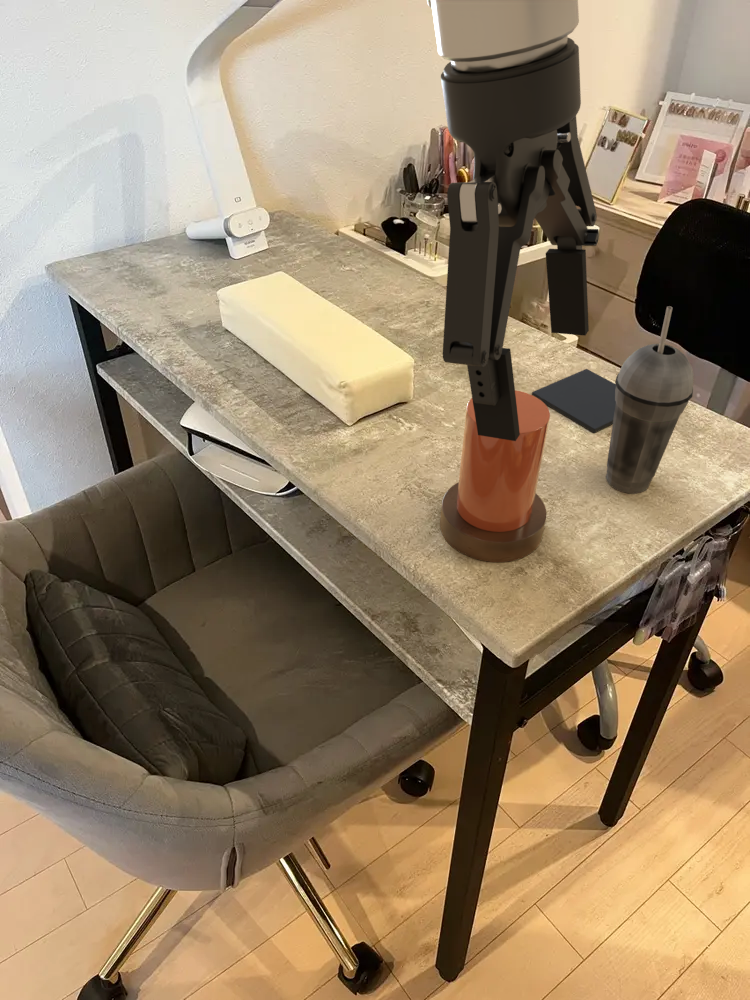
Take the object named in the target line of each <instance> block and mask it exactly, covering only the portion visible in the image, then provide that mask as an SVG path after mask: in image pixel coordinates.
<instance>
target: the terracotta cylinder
mask: <svg viewBox="0 0 750 1000" xmlns="http://www.w3.org/2000/svg"><path fill="white" fill-rule="evenodd" d="M515 395H516V404H517V413H518V422H519V431H520V435H519V437H518V438H517V440H516V441H511V440H505V439H499V438H493V437H487V436H480V435H478V432H477V425H476V419H475V412H474V406H473V400H472V397H471V398H470V399H469V400H468V402H467V404H466V409H465V418H464V419H465V420H464V429H463V436H462V437H463V438H462V446H461V447H462V448H461V456H460V465H459V466H460V467H459V475H458V482H459V484H458V493H457V503H456V504H457V510H458V512H459V514H460V516H461V517H462V518H463V519H464V520H465V521H466V522H468V523H469V524H471V525H472V526H474V527H477V528H479V529H482V530H486V531H492V532H506V531H512V530H515V529H518V528H520V527H522V526H523V525H525V524H526V523H527V522H528V521H529V519H530V517H531V514H532V510H533V504H534V499H535V494H537V489H538V488H537V487H538V482H539V478H540V472H541V466H542V462H543V456H544V450H545V446H546V440H547V434H548V430H549V424H550V419H551V412H550V409H549V406H547V405H546V404H544V403H543V402H542V401H541V400H540V399H538V398H537V397H535V396H533V395H532V394H530V393H528V392H524V391H521V390H517V389H515Z"/></svg>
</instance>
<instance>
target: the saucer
mask: <svg viewBox="0 0 750 1000" xmlns="http://www.w3.org/2000/svg"><path fill="white" fill-rule="evenodd" d="M458 484H459V481H458V482H457V483H454V484H453V485H452V486H450V487H449V488H448V490H446V491H445V493H444V495H443V497H442V499H441V500H442V501H441V508H440V519H439V522H440V523H439V527H440V531H441V533H442V536H443V538H444V539H445V541H446V542H447V543H448V544H449V545H450V546H451V547H452V548H453V549H455V550H456V551H457V552H458V553H461V554H463V555H465V556H467V557H469V558H472V559H474V560H478V561H482V562H489V563H507V562H513V561H517V560H521V559H523V558H525V557H527V556H529V555H531V554H532V553H533V552H534V551H535V550H537V548H539V546H540V545H541V542H542V539H543V536H544V532H545V531H544V530H545V526H546V521H547V516H548V515H547V507H546V505H545V503H544V501H543V500H542V498H541V497H540V496H539V495H538V494H537V493H536V494H535V499H534V504H533V510H532V514H531V517H530V519H529V521H528V522H527V523H526V524H525V525H523V526H522V527H520V528H518V529H515V530H512V531H506V532H492V531H486V530H482V529H479V528H477V527H474V526H472V525H471V524H469V523H468V522H466V521H465V520H464V519H463V518H462V517H461V516H460V514H459V512H458V510H457V504H456V503H457V493H458Z"/></svg>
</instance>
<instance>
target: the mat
mask: <svg viewBox="0 0 750 1000" xmlns="http://www.w3.org/2000/svg"><path fill="white" fill-rule="evenodd" d="M615 389H616V384H615V382H613V381H611V380H609V379H607V378H605V377H603V376H601V375H599V374H598V373H595V372H593V371H592V370H589V369H588V368H585V369H582V370H580V371H577V372H576V373H573V374H571V375H568V376H566V377H564V378H562V379H559V380H557V381H555V382H552V383H550V384H548V385H545V386H543V387H540V388H538V389H536V390H534V391H532V392H531V395H533V396H535V397H537V398H538V399H540V400H541V401H542V402H543V403H544V404H545V405H546V406H547V407H548V408H551V409H553V410H554V411H556V412H557V413H559V414H561V415H563V416H565V417H566V418H568V419H569V420H571V421H572V422H575V423H576V424H577V425H580V426H581V427H583V428H585V429H586V430H588V431H589V432H591V433H593V434H595V433H597V432H600V431H601V430H603V429H605V428H607V427H609V426H613V419H614V412H615V406H616V401H615Z"/></svg>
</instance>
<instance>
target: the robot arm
mask: <svg viewBox="0 0 750 1000" xmlns="http://www.w3.org/2000/svg"><path fill="white" fill-rule="evenodd" d="M426 2H427V3H426V4H427V6H428V7H429V8H430V9H431V11H432V17H433V25H434V33H435V39H436V46H437V53H438V55H439V56H440V57H441V58H443V59H444V60H446V61H449V62H448V63H447V64H446V65H445V66H444V68H443V71H442V73H441V74H440V81H441V90H442V96H443V101H444V110H445V117H446V123H447V124H446V125H447V129H448V132H449V135H450V136H451V137H452V138H453V139H454V140H455V141H457V142H458V143H459V142H460V143H464V144H465V145H467V147H468V148H470V149H471V150H472V152H473V153H474V154H473V155H474V156H473V176H472V179H471V180H470V181H466V182H464V181H463V182H450V184H449V185H448V188H447V192H446V196H447V197H446V198H447V199H446V200H447V210H448V219H449V221H448V222H449V240H448V241H449V242H448V243H449V244H448V259H447V274H446V275H447V276H446V292H445V308H444V323H443V326H444V327H443V340H442V341H443V342H442V360H443V362H444V363H448V364H456V365H464V366H467V373H468V380H469V386H470V393H471V398H472V400H473V406H474V412H475V419H476V425H477V432H478V435H480V436H487V437H493V438H499V439H505V440H511V441H516V440H517V438H518V437H519V435H520V431H519V422H518V413H517V404H516V395H515V390H516V388H515V380H514V379H515V378H514V377H515V376H514V370H513V361H512V352H511V351H512V350H511V348H508V347H504V343H505V337H506V332H507V326H508V320H509V315H510V310H511V303H512V298H513V292H514V287H515V281H516V275H517V269H518V264H519V258H520V254H521V249H522V247H524V246H526V245H527V244H528V243H529V242H530V240H531V237H532V231H533V224H534V221H536V222H537V224H538V225H539V227H540V228H541V231H542V232H543V234H544V235H545V236H546V238H547V241H548V242H549V243H550V244H551V246H556V247H557V248H549V249H547V251H546V252H545V263H546V277H547V279H546V280H547V291H548V306H549V317H550V319H549V321H550V330H551V331H550V333H551V334H559V335H572V336H573V335H574V336H583V337H586V336H587V334H588V332H589V331H590V330H589V329H590V328H589V327H590V326H589V303H588V301H589V300H588V299H589V298H588V279H587V278H588V277H587V275H588V273H587V251H586V249H583V247H596V246H597V245H598V242H599V239H600V232H599V229H598V228H588V227H594V226H595V224H596V222H597V218H598V214H597V210H596V205H595V201H594V197H593V193H592V189H591V185H590V180H589V176H588V173H587V170H586V169H587V168H586V165H585V160H584V157H583V152H582V149H581V144H580V140H579V135H578V133H579V132H578V122H577V115H578V113H579V111H580V109H581V104H582V99H581V97H582V96H581V72H580V47H579V45H578V44H576V43H575V41H574V39H572V38H571V37H568V36H569V35H571V34H572V33H574V31H575V29H576V28H577V27H578V25H579V23H580V13H579V0H426Z"/></svg>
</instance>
